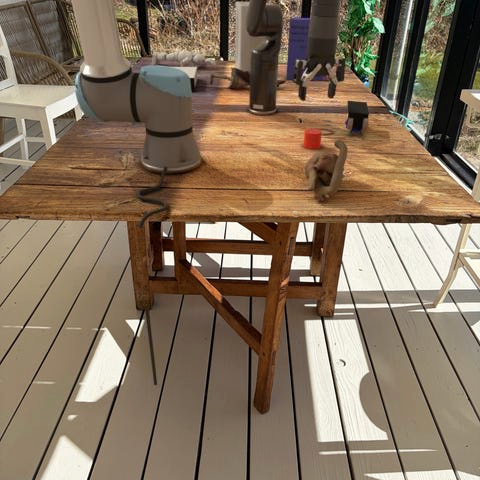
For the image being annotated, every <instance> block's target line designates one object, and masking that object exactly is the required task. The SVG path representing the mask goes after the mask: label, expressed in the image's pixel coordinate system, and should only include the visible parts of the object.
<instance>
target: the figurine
mask: <svg viewBox="0 0 480 480" xmlns="http://www.w3.org/2000/svg"><path fill="white" fill-rule="evenodd" d="M230 69H231V72H230V73H231V74H230V76H229V75H225V74H213V73H211V74H210V78H209V85H212V84H213V83H214V79H215V78H216V79H223V80H227V81H229V84H228V88H229V89H241V88H247V87H250V72H249V71H245V72H244V71H242V70H240V69H237V68H235V67H232V66H231V67H230ZM286 83H287V79H286V80H285V79H277V89H278V88H280V86H281V85H284V84H286Z"/></svg>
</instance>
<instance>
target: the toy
mask: <svg viewBox="0 0 480 480" xmlns="http://www.w3.org/2000/svg"><path fill="white" fill-rule="evenodd" d="M151 61H152V63H151V65H153V66H156V65H159V64H160V63H161V62H167V61H168V62H178V64H179V67H185V66H188V65H190V64H192V66H191V67H197V68H200V65H204V64H205V63H210V64H211V65H212V66H214V67H217V64H218V63H217V62H216V60H214V59H212V58H210V57H209V58H206V56H205V55H204V54H202V53H200V51H198V50H197V51H195V52H190V51H187V50H181V51H178V50H176V51H174V52H170V53H168V52H166V51H161V52H160V51H158V50H157V51H155V52H153V53H152V59H151Z"/></svg>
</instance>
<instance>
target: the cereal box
mask: <svg viewBox="0 0 480 480" xmlns="http://www.w3.org/2000/svg"><path fill="white" fill-rule="evenodd" d="M310 18H311V17H289V26H288V44H287V57H286V58H287V60H286V76H285V77H286V81H287V80H288V81H290V80H291V81H292V80H293V72H294V64H295V60H296V59H299V60H306V58H307V43H308V30H309V23H310ZM306 69H307V67H306V65H305V66H304V68H303V69H302V76H303V73H304V72H305V70H306ZM309 74H310V73H309ZM309 74H308V75H309ZM302 76H301V77H302ZM311 81H322V82H325V81H326V82H327V81H328V77H327V76H319V77H315V76H314V77H313V78H312V80H311Z"/></svg>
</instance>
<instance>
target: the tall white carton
mask: <svg viewBox="0 0 480 480" xmlns="http://www.w3.org/2000/svg"><path fill="white" fill-rule="evenodd" d="M266 4H269V2H267V3H266ZM248 5H249V1H235V59H234V60H235V62H234V63H235V65H234V66H235V67H234V68H237V69H240V70H242V71H244V72H245V71H249V72H250V52H251V50H252V49H253V48H254V47H256V46H258V45H259V44H261V43H262V42H263V40H264V37H252V36H250V35H249V34H248V33H247V30H246V14H247V9H248Z"/></svg>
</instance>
